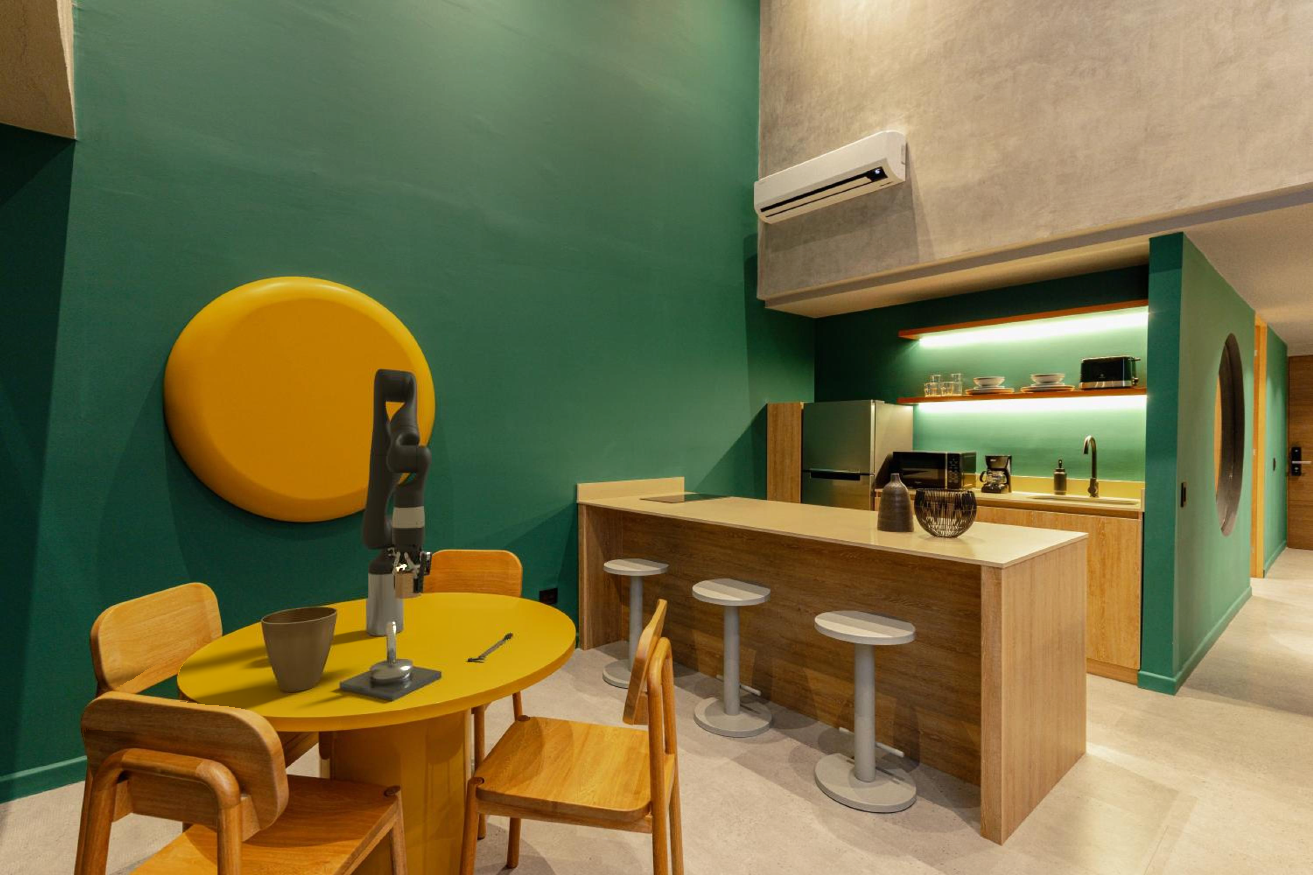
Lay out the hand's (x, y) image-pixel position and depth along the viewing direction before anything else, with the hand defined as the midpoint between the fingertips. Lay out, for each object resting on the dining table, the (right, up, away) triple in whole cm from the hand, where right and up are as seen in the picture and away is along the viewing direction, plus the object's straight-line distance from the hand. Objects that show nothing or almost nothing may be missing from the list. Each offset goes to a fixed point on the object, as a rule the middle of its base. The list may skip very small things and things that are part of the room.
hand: (408, 591), depth 156 cm
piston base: (+3, -17, -16) cm, 24 cm away
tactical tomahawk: (+21, -17, +7) cm, 28 cm away
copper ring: (0, -1, 0) cm, 1 cm away
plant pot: (-17, -17, -17) cm, 30 cm away
